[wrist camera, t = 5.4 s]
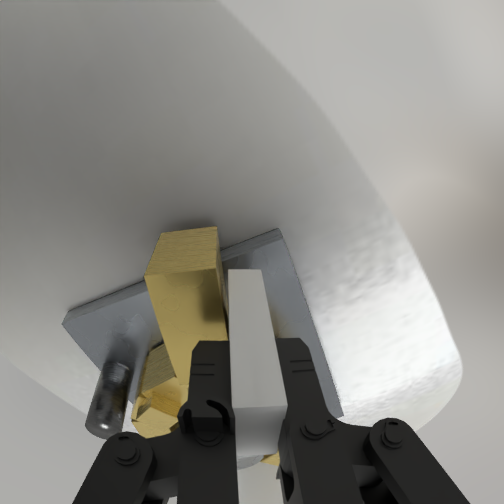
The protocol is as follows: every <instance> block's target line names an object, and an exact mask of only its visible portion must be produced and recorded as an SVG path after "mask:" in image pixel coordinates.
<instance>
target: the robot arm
mask: <svg viewBox="0 0 504 504" xmlns="http://www.w3.org/2000/svg"><path fill="white" fill-rule="evenodd" d="M228 327H229V340H222V341H217V340H199V342H198V343H197V344H196V346H195V347H194V349H193V350H192V356H191V366H190V377H189V388H188V400H187V401H186V402H185V403H184V404H183V405H182V406H181V407H180V409H179V412H178V415H177V418H178V422H179V427H178V428H177V429H176V430H174V431H172V432H171V433H168V434H165V435H161V436H156V437H151V438H145V437H143V436H141V435H139V434H138V433H134V432H127V431H126V432H120V433H117V434H115V435H113V436H111V437H109V438H108V440H107V441H106V442H105V443H104V445H103V446H102V448H101V450H100V452H99V454H98V456H97V457H96V460H95V461H94V463H93V465H92V467H91V469H90V471H89V473H88V474H87V476H86V479H85V480H84V482H83V484H82V486H81V488H80V490H79V492H78V494H77V496H76V497H75V500H74V501H73V503H72V504H167V502H168V500H169V498H170V497H175V496H177V504H239V493H238V476H237V457H236V456H251V455H268V454H277V450H278V451H279V458H280V463H279V466H278V470H277V473H276V479H280V484H281V490H282V497H283V503H284V504H470V503H469V502H468V500H467V499H466V498H465V496H464V495H463V494H462V492H461V491H460V490H459V489H458V487H457V486H456V485H455V483H454V482H453V481H452V479H451V478H450V477H449V476H448V474H447V473H446V472H445V471H444V469H443V468H442V466H441V465H440V464H439V463H438V461H437V460H436V459H435V457H434V456H433V455H432V454H431V452H430V451H429V450H428V449H427V447H426V446H425V445H424V443H423V442H422V441H421V440H420V438H419V437H418V436H417V435H416V433H415V432H414V431H413V429H412V428H411V427H410V426H409V425H408V424H407V423H405V422H404V421H402V420H399V419H397V418H385V419H382V420H379V421H378V422H377V423H375V424H374V425H373V427H366V426H357V425H350V424H346V423H343V422H341V421H339V420H337V419H336V418H335V417H334V416H332V414H331V413H330V412H329V410H328V408H327V406H326V403H325V399H324V396H323V393H322V389H321V386H320V383H319V379H318V376H317V373H316V371H315V366H314V363H313V362H312V356H311V353H310V350H309V347H308V346H307V345H306V344H305V343H304V342H303V341H302V340H301V338H300V337H299V338H277V339H275V337H274V332H273V327H272V322H271V317H270V312H269V307H268V302H267V297H266V292H265V287H264V282H263V277H262V272H261V269H228Z"/></svg>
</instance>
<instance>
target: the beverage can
mask: <svg viewBox="0 0 504 504" xmlns="http://www.w3.org/2000/svg"><path fill="white" fill-rule="evenodd" d="M277 470H278V466H276V465H271V464H267V463H262V462H258V463H257V464H255V465H253V466H251V467H248V468H245V469H240V470H237V476H238V493H239V504H284V503H283V497H282V490H281V484H280V479H276V473H277Z"/></svg>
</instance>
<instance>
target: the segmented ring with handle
mask: <svg viewBox="0 0 504 504" xmlns="http://www.w3.org/2000/svg"><path fill="white" fill-rule="evenodd" d="M144 278H145V282H146V285H147V289H148V292H149V295H150V299H151V302H152V305H153V309H154V312H155V315H156V318H157V321H158V325H159V328H160V331H161V334H162V337H163V340H164V344H162V345H160V346H159V347H157V348H155V349H154V350H152V351H150V352H149V356H146V358H145V361H144V364H143V367H142V370H141V373H140V376H139V379H138V384H137V389H136V394H135V398H134V404H133V409H132V414H131V419H132V421H131V422H132V423H133V425H134V426H135V428H136V429H137V431H138V432H139V434H140V435H141V436H143V437H145V438H151V437H156V436H161V435H165V434H168V433H171V432H172V431H174V430H176V429H177V428H178V427H179V422H178V418H177V415H178V412H179V409H180V407H181V406H182V405H183V404H184V403H185V402H186V401H187V400H188V388H189V377H190V366H191V356H192V350H193V349H194V347H195V346H196V344H197V343H198V342H199V340H217V341H222V340H229V327H228V301H227V294H226V288H225V281H224V274H223V267H222V260H221V253H220V246H219V239H218V232H217V226H213V227H205V228H197V229H188V230H181V231H173V232H165V233H161V235H160V237H159V240H158V242H157V245H156V247H155V250H154V252H153V255H152V257H151V260H150V262H149V265H148V267H147V270H146V272H145V275H144ZM260 462H262V463H267V464H271V465H276V466H279V463H280V458H279V451H278V450H277V454H268V455H264V457H263V459H262V460H261V461H260Z"/></svg>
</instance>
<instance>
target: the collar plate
mask: <svg viewBox="0 0 504 504" xmlns="http://www.w3.org/2000/svg"><path fill="white" fill-rule="evenodd" d="M220 253H221V260H222V267H223V274H224V281H225V288H226V294H227V301H228V269H261V272H262V277H263V282H264V287H265V292H266V297H267V302H268V307H269V312H270V317H271V322H272V327H273V332H274V337H275V339H277V338H299V337H300V338H301V340H302V341H303V342H304V343H305V344H306V345H307V346H308V347H309V350H310V353H311V356H312V362H313V363H314V366H315V371H316V373H317V376H318V379H319V383H320V386H321V389H322V393H323V396H324V399H325V403H326V406H327V408H328V410H329V412H330V413H331V414H332V416H334V417H335V418H339V417H342V416H344V414H343V411H342V408H341V405H340V402H339V398H338V395H337V392H336V389H335V386H334V383H333V380H332V377H331V374H330V371H329V368H328V365H327V362H326V359H325V356H324V353H323V350H322V347H321V344H320V341H319V338H318V335H317V332H316V329H315V326H314V323H313V320H312V317H311V314H310V311H309V309H308V306H307V303H306V300H305V297H304V294H303V291H302V289H301V286H300V283H299V280H298V277H297V275H296V272H295V269H294V266H293V263H292V261H291V258H290V255H289V252H288V250H287V247H286V244H285V242H284V239H283V236H282V234H281V232H280V230H279V228H278V229H275V230H273V231H270V232H267V233H265V234H262V235H260V236H257V237H255V238H252V239H249V240H247V241H244V242H242V243H239V244H236V245H234V246H231V247H229V248H226V249H224V250H221V251H220ZM62 325H63V327H64V328H65V329H66V330H67V332H68V333H69V334H70V336H71V337H72V338H73V339H74V340H75V342H76V343H77V344H78V345H79V347H80V348H81V349H82V350H83V351H84V352H85V354H86V355H87V356H88V357H89V358H90V359H91V361H92V362H93V363H94V364H95V365H96V366H97V367H98V368H99V369H100V371H101V373H100V377H99V380H98V383H97V386H96V389H95V392H94V396H93V399H92V402H91V405H90V409H89V412H88V416H87V420H86V423H85V427H86V428H87V430H88V431H89V432H90V433H92V434H93V435H95V436H97V437H99V438H102V439H106V440H108V438H109V437H111V436H113V435H115V434H117V433H120V432H122V428H123V422H124V417H125V412H126V408H127V403H128V400H129V401H130V402H131V403H132V404H134V398H135V394H136V389H137V384H138V379H139V376H140V373H141V370H142V367H143V364H144V361H145V358H146V356H149V352H150V351H152V350H154V349H155V348H157V347H159V346H160V345H162V344H164V340H163V337H162V334H161V331H160V328H159V325H158V321H157V318H156V315H155V312H154V309H153V305H152V302H151V299H150V295H149V292H148V289H147V285H146V282H145V281H143V282H140V283H138V284H135V285H133V286H130V287H128V288H125V289H123V290H120V291H118V292H115V293H113V294H110V295H108V296H105V297H103V298H100V299H98V300H95V301H93V302H91V303H88V304H86V305H83V306H81V307H78V308H76V309H73V310H71V311H69V312H68V313H67V315H66V317H65V318H64V320H63V322H62ZM236 457H237V470H240V469H245V468H248V467H251V466H253V465H255V464H257V463H258V462H260V461H261V460H262V459H263V457H264V455H251V456H236Z"/></svg>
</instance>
